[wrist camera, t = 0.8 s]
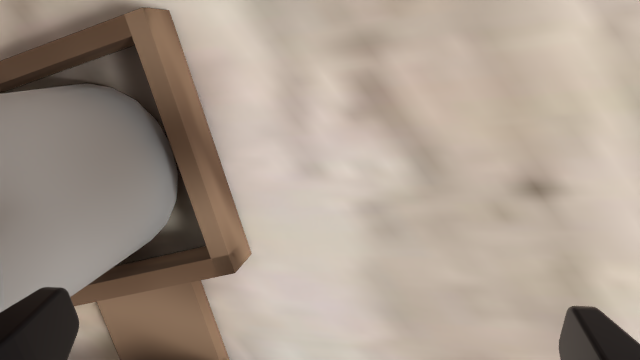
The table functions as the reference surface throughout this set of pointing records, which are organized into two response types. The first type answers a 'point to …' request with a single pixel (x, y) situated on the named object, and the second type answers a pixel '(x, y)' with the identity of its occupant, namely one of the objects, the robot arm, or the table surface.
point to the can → (77, 186)
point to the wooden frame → (200, 181)
